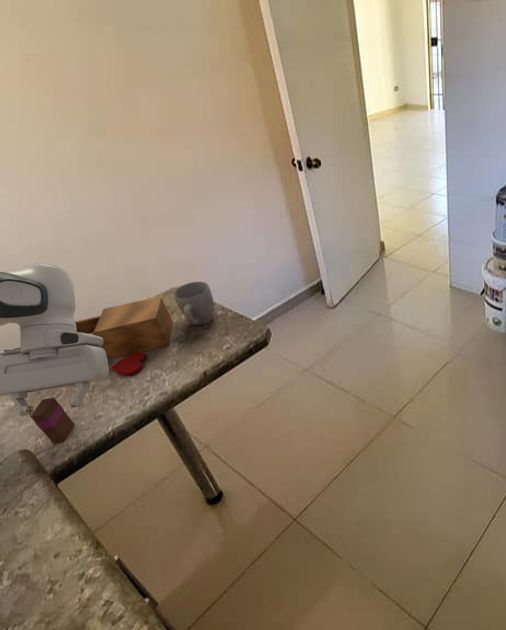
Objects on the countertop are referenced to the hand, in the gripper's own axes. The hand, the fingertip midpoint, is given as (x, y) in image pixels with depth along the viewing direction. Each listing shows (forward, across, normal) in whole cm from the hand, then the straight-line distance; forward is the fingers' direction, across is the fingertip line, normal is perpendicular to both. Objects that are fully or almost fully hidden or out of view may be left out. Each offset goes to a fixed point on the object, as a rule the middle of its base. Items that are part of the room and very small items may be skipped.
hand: (51, 411), depth 86 cm
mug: (-20, +20, +28) cm, 39 cm away
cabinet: (-17, +6, +25) cm, 31 cm away
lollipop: (-9, +2, +17) cm, 19 cm away
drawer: (-16, -7, +23) cm, 29 cm away
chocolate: (+5, 0, +3) cm, 6 cm away
